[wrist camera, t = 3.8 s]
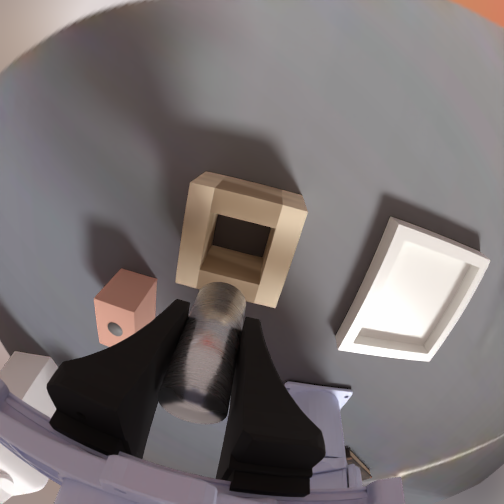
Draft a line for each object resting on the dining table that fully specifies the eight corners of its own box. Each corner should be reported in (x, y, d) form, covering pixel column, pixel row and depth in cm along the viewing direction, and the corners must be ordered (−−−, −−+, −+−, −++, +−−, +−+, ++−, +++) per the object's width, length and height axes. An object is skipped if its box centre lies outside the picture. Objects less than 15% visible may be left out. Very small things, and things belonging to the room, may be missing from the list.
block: (155, 321, 26) (135, 357, 22) (122, 310, 26) (99, 343, 22) (157, 278, 24) (134, 312, 20) (121, 267, 24) (93, 298, 19)
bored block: (276, 278, 23) (275, 308, 19) (190, 256, 23) (175, 282, 19) (302, 195, 20) (307, 211, 16) (206, 171, 20) (190, 182, 16)
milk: (14, 350, 34) (-57, 453, 10) (50, 356, 32) (-30, 487, 9) (50, 398, 39) (-4, 496, 15) (90, 408, 37) (35, 527, 13)
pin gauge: (241, 326, 15) (222, 429, 10) (194, 315, 15) (158, 413, 10) (250, 288, 14) (232, 396, 9) (199, 276, 14) (155, 377, 8)
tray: (423, 350, 25) (429, 361, 24) (335, 336, 25) (337, 349, 23) (480, 251, 20) (490, 260, 19) (390, 216, 20) (398, 224, 18)
